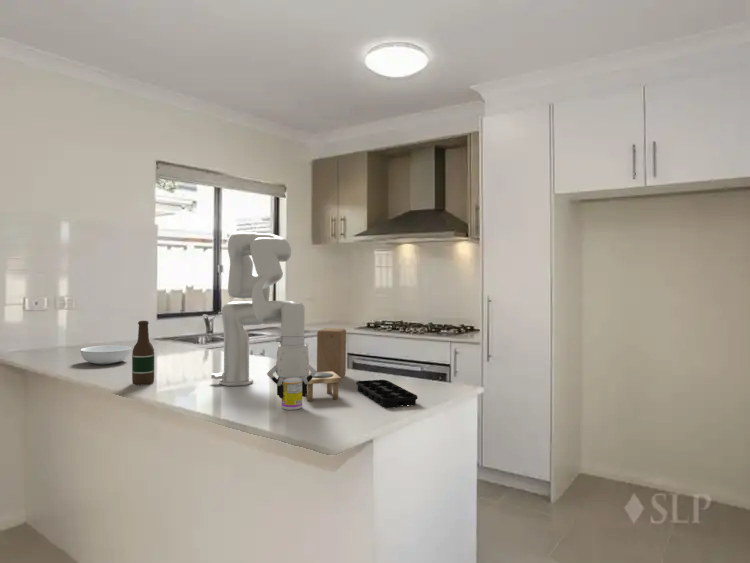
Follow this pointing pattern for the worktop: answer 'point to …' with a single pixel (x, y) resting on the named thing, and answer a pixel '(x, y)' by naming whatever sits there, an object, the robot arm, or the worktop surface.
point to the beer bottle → (143, 357)
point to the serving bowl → (105, 354)
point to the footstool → (324, 378)
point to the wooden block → (331, 351)
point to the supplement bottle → (292, 393)
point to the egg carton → (386, 393)
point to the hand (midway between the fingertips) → (292, 396)
